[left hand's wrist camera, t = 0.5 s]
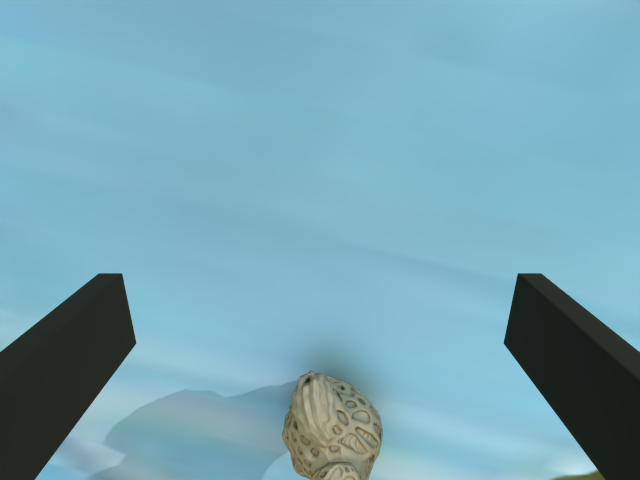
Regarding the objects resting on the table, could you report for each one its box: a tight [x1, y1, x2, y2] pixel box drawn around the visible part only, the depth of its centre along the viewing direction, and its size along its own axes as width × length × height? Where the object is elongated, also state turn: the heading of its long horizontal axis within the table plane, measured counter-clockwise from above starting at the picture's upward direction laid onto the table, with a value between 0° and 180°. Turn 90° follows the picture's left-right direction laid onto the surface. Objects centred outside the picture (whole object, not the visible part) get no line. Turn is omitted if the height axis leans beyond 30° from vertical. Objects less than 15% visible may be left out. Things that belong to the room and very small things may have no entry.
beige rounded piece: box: [282, 371, 383, 480], centre depth 43 cm, size 21×12×15 cm, turn 13°
